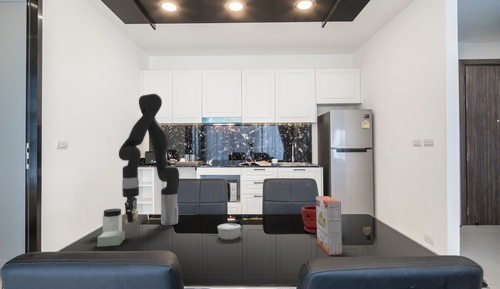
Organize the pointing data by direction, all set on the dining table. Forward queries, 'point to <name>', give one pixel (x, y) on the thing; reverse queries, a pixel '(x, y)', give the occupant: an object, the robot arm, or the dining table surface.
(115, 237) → the pedestal
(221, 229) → the ramekin
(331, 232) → the cracker box
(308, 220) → the plant pot
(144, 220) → the dining table surface
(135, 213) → the maple cube
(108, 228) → the jar
